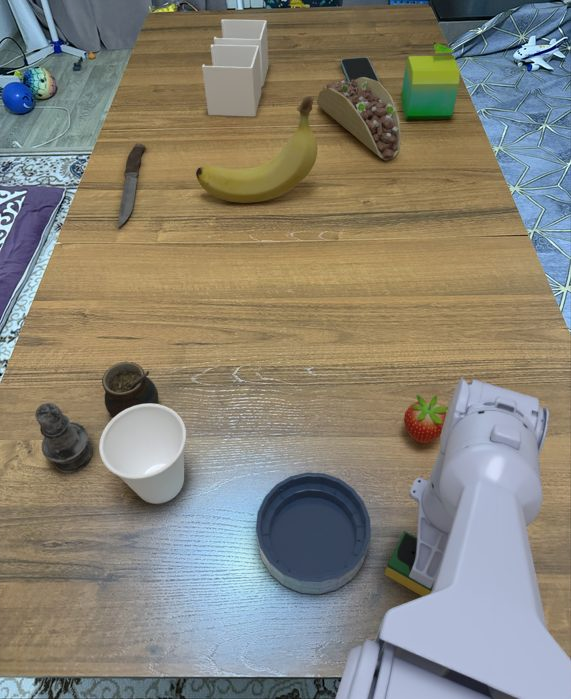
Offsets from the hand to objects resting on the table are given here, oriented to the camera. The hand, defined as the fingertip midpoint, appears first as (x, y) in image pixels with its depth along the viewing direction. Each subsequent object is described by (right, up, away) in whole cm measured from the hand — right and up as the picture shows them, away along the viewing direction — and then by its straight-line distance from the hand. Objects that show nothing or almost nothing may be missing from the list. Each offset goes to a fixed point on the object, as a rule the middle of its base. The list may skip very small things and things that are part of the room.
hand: (435, 543), depth 59 cm
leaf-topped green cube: (+17, +75, +73) cm, 106 cm away
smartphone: (+3, +88, +84) cm, 122 cm away
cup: (-32, +3, +15) cm, 35 cm away
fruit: (+3, +8, +19) cm, 21 cm away
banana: (-21, +49, +53) cm, 76 cm away
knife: (-46, +53, +57) cm, 90 cm away
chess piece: (-44, +6, +18) cm, 48 cm away
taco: (0, +68, +68) cm, 96 cm away
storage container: (-27, +83, +81) cm, 119 cm away
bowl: (-12, -3, +10) cm, 16 cm away
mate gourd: (-36, +11, +22) cm, 44 cm away
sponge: (0, -6, +7) cm, 9 cm away
